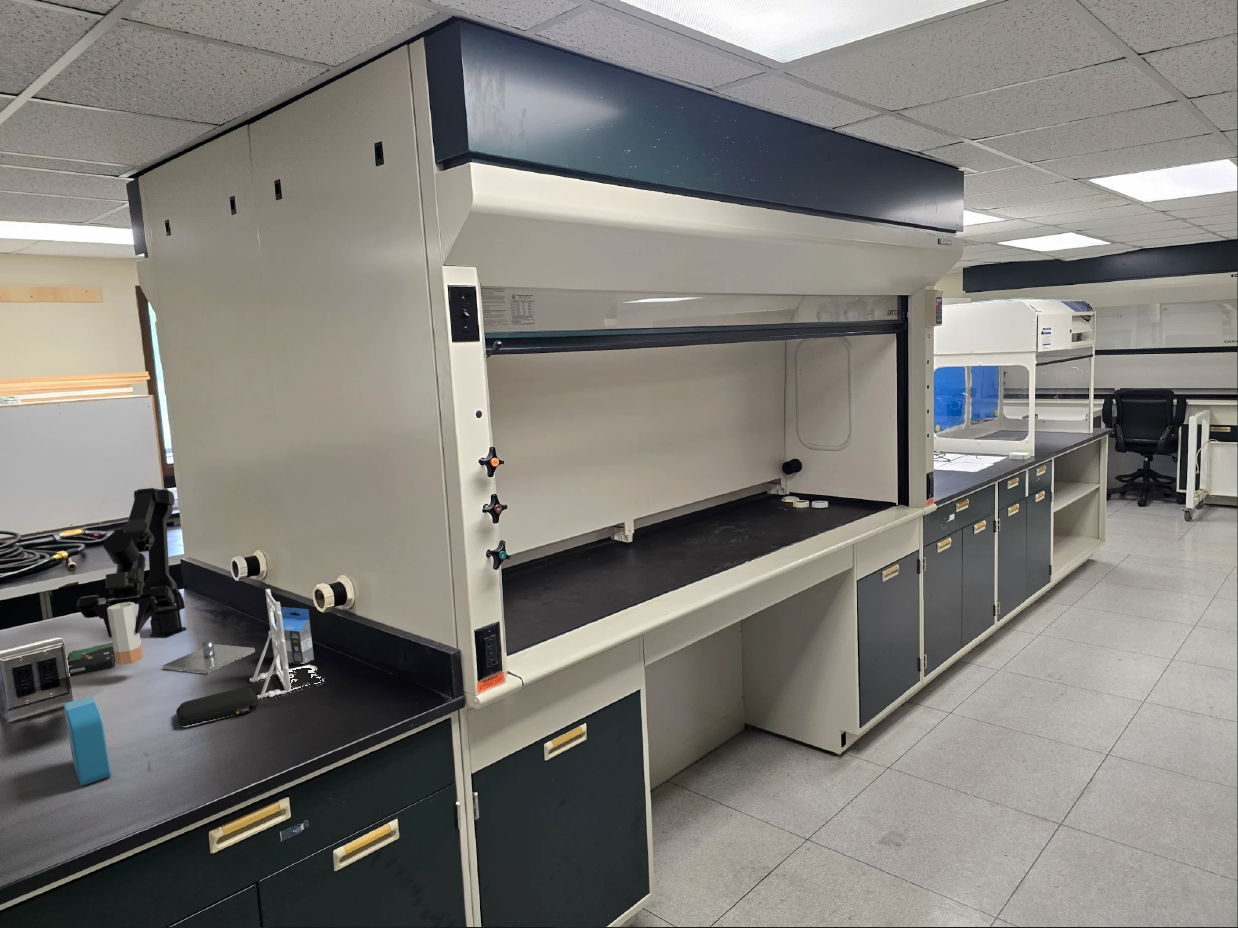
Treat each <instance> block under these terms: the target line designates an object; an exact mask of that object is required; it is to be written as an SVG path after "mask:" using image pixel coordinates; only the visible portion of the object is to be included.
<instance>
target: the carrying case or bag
mask: <svg viewBox="0 0 1238 928" xmlns="http://www.w3.org/2000/svg"><path fill="white" fill-rule="evenodd" d="M259 701H260V700H258V698H257V692H256V691H255V690H254V689H252V687H248V686H247V687H246V686H245V687H240V688H235V689H231V690H227V691H223V692H218V693H215V694H210V695H207V696H203V697H202V696H201V697H199V698H193V699H190V700H186V701H184V702H182V703H181V704H179V706H178V707H177V708H176V722H177V725H179V726H181V727H182V726H187V725H192V724H196V723H201V722H203V721H209V720H213V719H218V718H222V717H227V716H231V715H236V716H240V715H242V714H241V713H243V712H247V713H249V712H248V711H250V710H253V709H254V710H255V709H256V708H257V707H258V706H259V703H260V702H259ZM254 710H253V711H254ZM239 714H240V715H239Z"/></svg>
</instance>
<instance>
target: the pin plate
mask: <svg viewBox="0 0 1238 928" xmlns="http://www.w3.org/2000/svg"><path fill="white" fill-rule="evenodd" d="M201 646H202V648H200V649H197V650H195V651H193V652H191V653H188V654H186V655H184V656H181V657H179V658H176V659H175V660H172V661H169V662H167V663H166V664H163V665H162V668H163V670H164V669H170V670H169V671H173V670H182V671H189V672H188V673H190V672H200V673H201V672H202V673H210V672H212V671H214V670H216V669H218V670H220V669H222V668H223V667H222V666H224V667H226V666H229V665H230V664H229V663H231V662H233V663H235V662H236V661H235V660H237V661H238V659H239V660H242V657H243V658H245V657H247V656H250V655H251V654H254V653H255V652H256V649H255V647H249V646H238V645H227V644H216V643H215V644H214V641H213V640H207V641H204V642H202V643H201ZM234 661H235V662H234ZM228 664H229V665H228ZM231 664H232V663H231ZM225 665H226V666H225ZM221 667H222V668H221ZM219 668H220V669H219ZM182 671H181V672H182ZM216 671H217V670H216ZM214 672H215V671H214ZM212 673H213V672H212ZM210 674H211V673H210Z"/></svg>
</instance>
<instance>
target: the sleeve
mask: <svg viewBox="0 0 1238 928" xmlns="http://www.w3.org/2000/svg"><path fill="white" fill-rule="evenodd" d="M107 612H108V618H109V624H110V630H111V636H112V637H111V641H112V642H111V643H113V648H114V654H115V660H116V662H115V665H120V666H121V665H122V666H125V665H129V664H134V663H137V662H139V661H141V660H142V659H143V658H144V654H143V647H142V642H141V640H142V639H141V636H140V632H139V633H136V632H135V625H136V620H137V615H138V614H137V609H136V604H135V603H133V602H125V603H119V604H115V605H112V606H110V607H108V608H107Z"/></svg>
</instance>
